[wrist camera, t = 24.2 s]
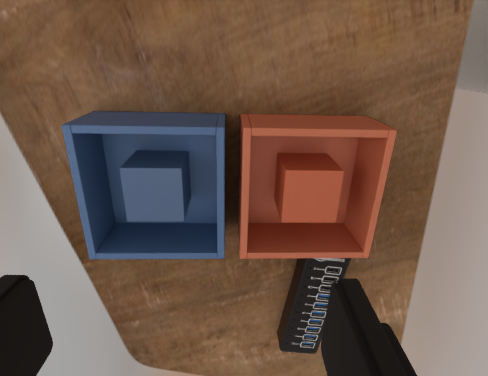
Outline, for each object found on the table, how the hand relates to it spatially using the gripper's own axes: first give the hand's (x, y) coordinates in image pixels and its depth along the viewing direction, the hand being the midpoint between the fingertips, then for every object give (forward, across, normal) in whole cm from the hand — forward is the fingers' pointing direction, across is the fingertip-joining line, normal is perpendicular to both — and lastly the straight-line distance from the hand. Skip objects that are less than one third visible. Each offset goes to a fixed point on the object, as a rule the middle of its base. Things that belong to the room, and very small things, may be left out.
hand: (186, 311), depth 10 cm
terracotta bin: (+20, -7, +3) cm, 21 cm away
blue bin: (+20, +5, +3) cm, 20 cm away
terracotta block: (+19, -7, +3) cm, 21 cm away
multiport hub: (+20, -10, +17) cm, 28 cm away
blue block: (+19, +5, +3) cm, 20 cm away
